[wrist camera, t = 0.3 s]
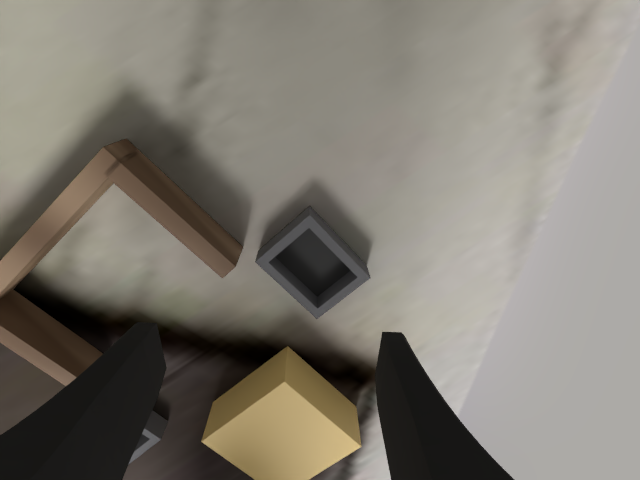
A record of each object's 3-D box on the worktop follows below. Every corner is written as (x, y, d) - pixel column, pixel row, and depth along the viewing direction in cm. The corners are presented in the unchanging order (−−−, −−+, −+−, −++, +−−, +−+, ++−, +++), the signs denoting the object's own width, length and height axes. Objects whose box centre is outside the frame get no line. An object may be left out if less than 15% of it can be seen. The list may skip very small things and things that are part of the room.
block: (283, 451, 30) (279, 497, 27) (213, 398, 28) (201, 441, 25) (355, 403, 28) (361, 446, 25) (287, 343, 26) (284, 381, 23)
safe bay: (104, 369, 26) (84, 398, 24) (-12, 288, 24) (-46, 312, 21) (243, 247, 23) (235, 266, 21) (126, 138, 21) (103, 147, 18)
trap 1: (132, 449, 29) (123, 468, 28) (73, 411, 28) (60, 429, 26) (168, 421, 28) (160, 439, 27) (109, 380, 27) (98, 397, 25)
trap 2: (316, 305, 25) (316, 319, 23) (258, 250, 23) (255, 262, 22) (366, 265, 24) (370, 277, 22) (309, 205, 22) (309, 215, 21)
